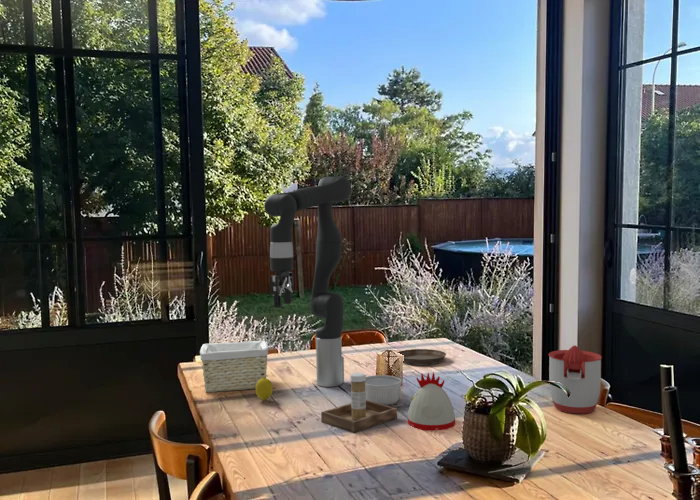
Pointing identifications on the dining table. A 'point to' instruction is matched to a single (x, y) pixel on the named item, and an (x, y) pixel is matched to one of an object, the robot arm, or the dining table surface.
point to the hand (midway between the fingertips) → (282, 305)
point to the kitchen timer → (431, 406)
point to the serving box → (373, 417)
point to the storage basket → (233, 365)
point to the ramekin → (382, 389)
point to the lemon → (264, 388)
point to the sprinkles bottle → (358, 395)
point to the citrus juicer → (575, 379)
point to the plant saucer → (422, 356)
